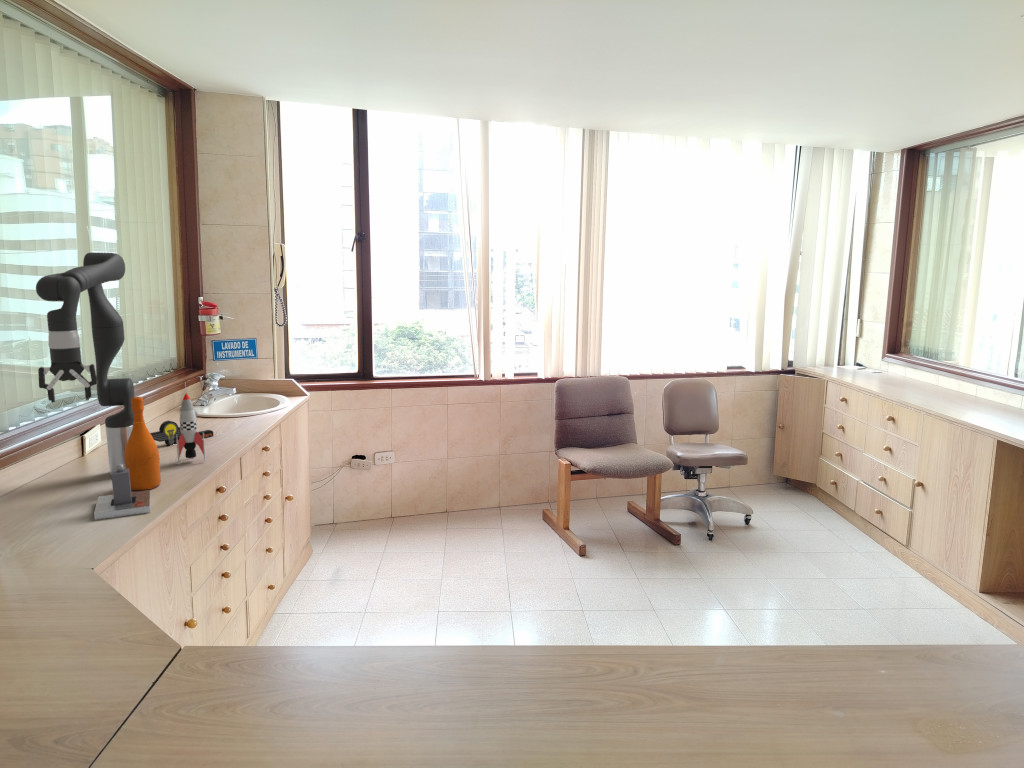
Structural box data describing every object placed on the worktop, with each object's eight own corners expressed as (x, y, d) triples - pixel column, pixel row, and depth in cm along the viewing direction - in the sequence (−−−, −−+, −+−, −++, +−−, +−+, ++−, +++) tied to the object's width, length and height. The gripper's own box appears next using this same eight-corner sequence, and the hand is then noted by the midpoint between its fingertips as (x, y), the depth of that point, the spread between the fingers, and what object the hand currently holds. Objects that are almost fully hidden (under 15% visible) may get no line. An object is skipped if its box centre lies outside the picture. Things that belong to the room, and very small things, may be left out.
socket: (98, 502, 209) (98, 494, 208) (150, 496, 215) (149, 488, 215) (94, 520, 195) (93, 511, 194) (150, 512, 201) (149, 504, 201)
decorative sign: (150, 450, 267) (148, 425, 265) (147, 449, 268) (145, 424, 266) (213, 436, 289) (212, 413, 287) (210, 435, 290) (209, 412, 288)
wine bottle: (167, 482, 228) (160, 394, 223) (149, 492, 219) (141, 400, 214) (140, 481, 229) (132, 393, 224) (120, 491, 220) (112, 399, 214)
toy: (207, 461, 252) (202, 381, 247) (186, 467, 245) (180, 385, 240) (193, 457, 257) (187, 379, 252) (171, 463, 250) (165, 382, 245)
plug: (114, 510, 202) (110, 467, 200) (115, 505, 206) (111, 463, 204) (131, 507, 204) (127, 465, 202) (132, 503, 208) (128, 462, 206)
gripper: (94, 343, 205) (99, 396, 208) (37, 345, 199) (43, 400, 202) (92, 346, 199) (97, 401, 201) (33, 348, 192) (39, 405, 195)
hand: (70, 400), depth 202 cm, fingers open, 8 cm apart
